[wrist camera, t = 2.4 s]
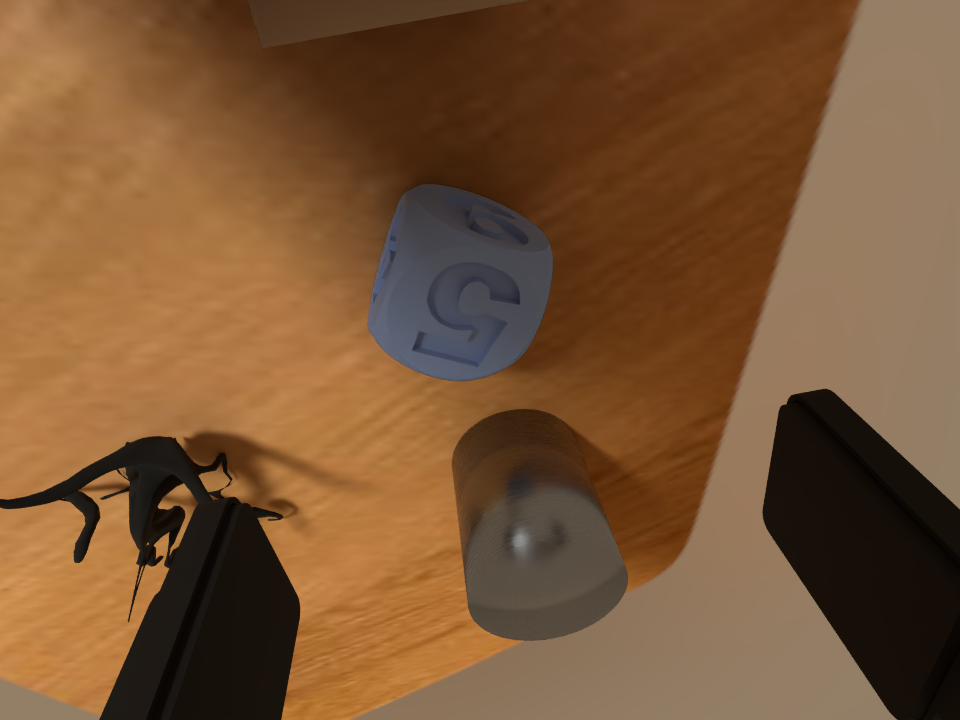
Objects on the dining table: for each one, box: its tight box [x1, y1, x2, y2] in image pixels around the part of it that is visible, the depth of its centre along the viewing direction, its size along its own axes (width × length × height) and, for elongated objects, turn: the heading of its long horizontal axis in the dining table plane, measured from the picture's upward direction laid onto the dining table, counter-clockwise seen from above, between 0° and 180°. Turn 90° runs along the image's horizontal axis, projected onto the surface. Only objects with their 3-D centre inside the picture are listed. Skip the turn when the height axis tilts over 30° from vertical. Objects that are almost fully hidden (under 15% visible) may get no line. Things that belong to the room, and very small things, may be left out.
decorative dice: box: [368, 184, 553, 381], centre depth 16 cm, size 4×4×4 cm
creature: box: [0, 436, 283, 622], centre depth 19 cm, size 8×5×8 cm
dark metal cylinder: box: [452, 409, 628, 641], centre depth 20 cm, size 5×5×6 cm
